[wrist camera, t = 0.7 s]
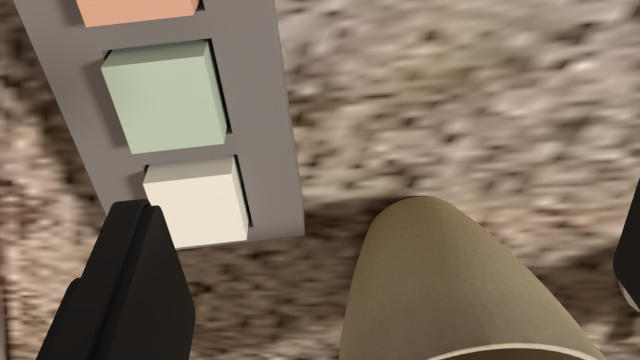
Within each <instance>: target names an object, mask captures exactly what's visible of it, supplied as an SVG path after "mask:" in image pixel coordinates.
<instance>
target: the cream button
mask: <svg viewBox="0 0 640 360" xmlns="http://www.w3.org/2000/svg"><path fill="white" fill-rule="evenodd" d="M143 186H144V189H145V192H146V194H147V197H148V200H149V202H150V203H151V205H152V206H154V205H159V206H160V207H161V209H162V211H163V214H164V217H165V220H166V223H167V226H168V229H169V232H170V235H171V238H172V241H173V244H174V247H175V248H180V247H189V246H198V245H207V244H216V243H225V242H234V241H243V240H247V232H248V219H249V212H248V208H247V204H246V199H245V195H244V190H243V186H242V181H241V177H240V173H239V168H238V164H237V159H236V155H227V156H219V157H210V158H201V159H192V160H183V161H174V162H165V163H156V164H150V165H149V168H148V171H147V173H146V176H145V179H144V182H143Z"/></svg>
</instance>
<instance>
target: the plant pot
mask: <svg viewBox="0 0 640 360" xmlns="http://www.w3.org/2000/svg"><path fill="white" fill-rule="evenodd" d="M339 360H606V359H605V357H604V356H603V355H602V353H601V352H600V351H599V350H598V348H597V347H596V346H595V345H594V343H593V342H592V341H591V340H590V339H589V337H588V336H587V335H586V334H585V332H584V331H583V330H582V329H581V327H580V326H579V325H578V324H577V323H576V321H575V320H574V319H573V318H572V316H571V315H570V314H569V313H568V312H567V311H566V309H565V308H564V307H563V306H562V305H561V304H560V302H559V301H558V300H557V299H556V298H555V297H554V296H553V295H552V293H551V292H550V291H549V290H548V289H547V288H546V287H545V286H544V285H543V284H542V283H541V282H540V281H539V280H538V279H537V277H536V276H535V275H534V274H533V273H532V272H531V271H530V270H529V269H528V268H527V267H526V266H525V265H524V264H523V263H522V262H521V261H520V260H519V259H518V258H517V257H515V256H514V255H513V254H512V253H511V252H510V251H509V250H508V249H507V248H506V247H505V246H504V245H502V244H501V243H500V242H499V241H498V240H497V239H496V238H495V237H493V236H492V235H491V234H490V233H489V232H487V231H486V230H485V229H484V228H483V227H481V226H480V225H479V224H477V223H476V222H475V221H474V220H472V219H471V218H470V217H468V216H467V215H466V214H464V213H463V212H461V211H460V210H458V209H457V208H456V207H454V206H453V205H451V204H450V203H448V202H446V201H444V200H441V199H438V198H434V197H424V196H422V197H412V198H407V199H403V200H400V201H398V202H395V203H393V204H391V205H389V206H388V207H386V208H385V209H384V210H382V211H381V212H380V213H379V214H378V215H377V216H376V217H375V218H374V220H373V221H372V223H371V225H370V227H369V229H368V232H367V234H366V237H365V240H364V242H363V245H362V248H361V251H360V254H359V258H358V261H357V264H356V268H355V271H354V275H353V279H352V283H351V287H350V292H349V297H348V302H347V307H346V312H345V317H344V324H343V330H342V337H341V344H340V352H339Z"/></svg>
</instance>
